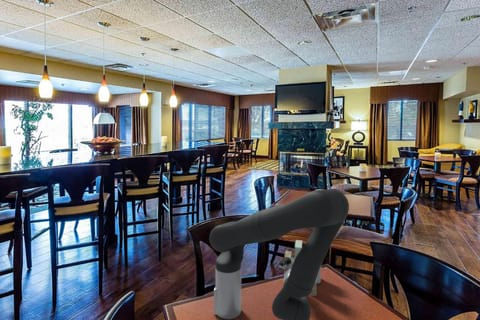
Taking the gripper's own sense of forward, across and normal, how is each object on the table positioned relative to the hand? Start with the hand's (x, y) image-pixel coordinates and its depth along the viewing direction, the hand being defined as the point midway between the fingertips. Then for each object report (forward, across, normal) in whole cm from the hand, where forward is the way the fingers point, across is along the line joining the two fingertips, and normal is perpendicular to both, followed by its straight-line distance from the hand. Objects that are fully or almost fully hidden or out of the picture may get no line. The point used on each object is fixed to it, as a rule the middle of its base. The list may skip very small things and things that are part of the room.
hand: (298, 256), depth 118 cm
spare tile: (-1, 0, +9) cm, 9 cm away
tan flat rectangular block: (+6, +4, +17) cm, 19 cm away
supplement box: (+15, -6, +17) cm, 24 cm away
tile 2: (+6, -6, +17) cm, 19 cm away
